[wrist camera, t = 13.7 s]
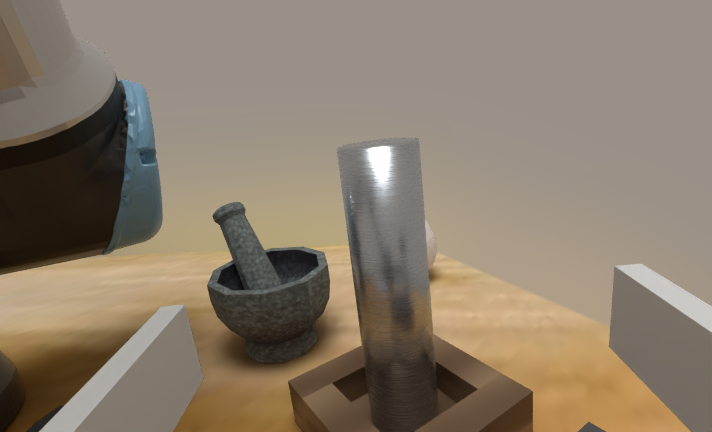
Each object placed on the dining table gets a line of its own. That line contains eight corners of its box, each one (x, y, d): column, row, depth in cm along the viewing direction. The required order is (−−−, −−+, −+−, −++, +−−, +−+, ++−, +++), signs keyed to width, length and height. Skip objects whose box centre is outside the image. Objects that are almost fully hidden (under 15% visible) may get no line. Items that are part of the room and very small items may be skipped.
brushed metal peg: (358, 412, 25) (322, 149, 21) (408, 383, 27) (385, 137, 23) (400, 455, 22) (367, 151, 17) (454, 418, 24) (436, 138, 19)
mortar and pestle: (361, 334, 35) (344, 198, 32) (269, 395, 29) (237, 234, 26) (283, 300, 43) (263, 189, 40) (198, 343, 37) (166, 214, 33)
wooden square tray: (295, 421, 26) (288, 381, 25) (414, 356, 31) (411, 321, 30) (392, 552, 18) (386, 500, 17) (532, 436, 23) (532, 391, 22)
